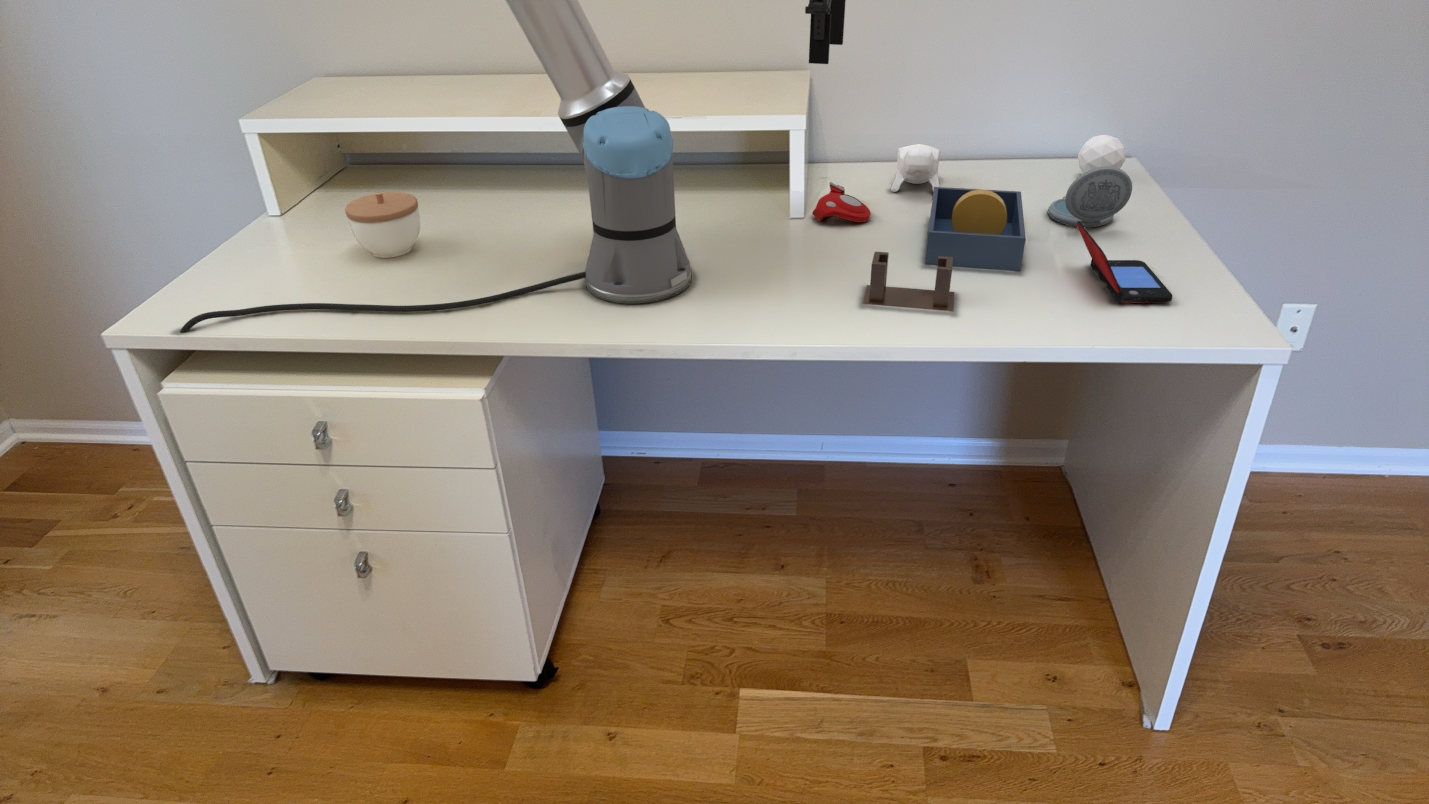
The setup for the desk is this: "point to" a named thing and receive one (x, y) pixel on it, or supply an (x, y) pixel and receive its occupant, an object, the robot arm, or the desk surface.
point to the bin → (975, 234)
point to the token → (980, 213)
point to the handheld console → (1125, 276)
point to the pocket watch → (1093, 198)
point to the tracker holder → (841, 206)
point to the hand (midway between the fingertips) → (826, 53)
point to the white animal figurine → (917, 166)
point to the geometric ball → (1101, 153)
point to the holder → (907, 296)
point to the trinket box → (385, 223)
